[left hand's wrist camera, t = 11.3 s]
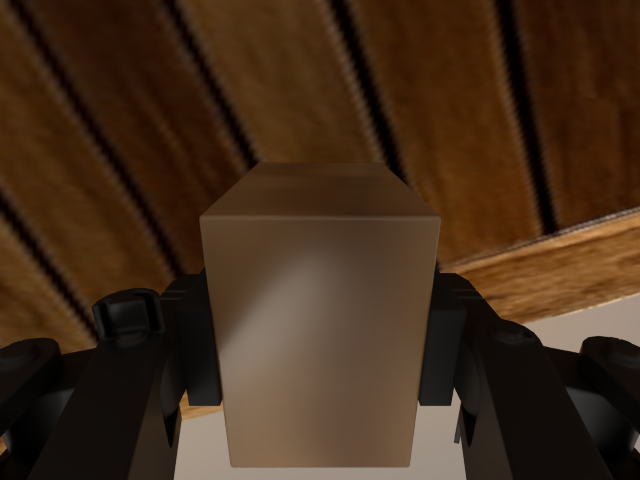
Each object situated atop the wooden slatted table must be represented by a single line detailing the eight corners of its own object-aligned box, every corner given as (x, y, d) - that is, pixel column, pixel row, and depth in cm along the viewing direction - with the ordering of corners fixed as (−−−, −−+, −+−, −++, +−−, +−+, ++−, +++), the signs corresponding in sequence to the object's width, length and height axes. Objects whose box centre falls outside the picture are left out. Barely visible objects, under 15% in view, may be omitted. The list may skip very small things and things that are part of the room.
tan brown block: (267, 318, 16) (229, 469, 10) (257, 162, 14) (197, 216, 7) (372, 318, 16) (410, 469, 10) (382, 162, 14) (442, 216, 7)
